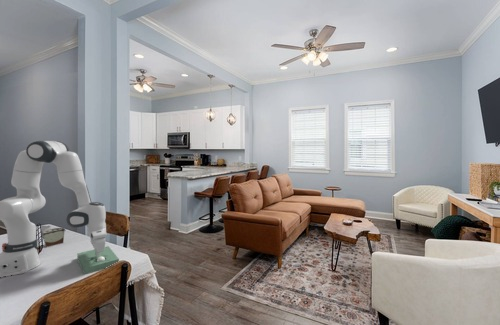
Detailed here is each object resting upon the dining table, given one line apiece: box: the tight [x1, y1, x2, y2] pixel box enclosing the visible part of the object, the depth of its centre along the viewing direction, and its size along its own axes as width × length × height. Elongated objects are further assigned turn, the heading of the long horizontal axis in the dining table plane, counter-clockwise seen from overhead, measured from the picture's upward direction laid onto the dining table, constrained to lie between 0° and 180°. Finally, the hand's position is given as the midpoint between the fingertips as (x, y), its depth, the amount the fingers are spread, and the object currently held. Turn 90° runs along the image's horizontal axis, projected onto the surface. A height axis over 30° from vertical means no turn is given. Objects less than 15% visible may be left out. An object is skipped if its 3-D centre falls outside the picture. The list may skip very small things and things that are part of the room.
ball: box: [97, 256, 105, 262], centre depth 131 cm, size 4×4×4 cm
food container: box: [42, 227, 66, 248], centre depth 159 cm, size 12×6×10 cm, turn 144°
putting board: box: [76, 246, 120, 275], centre depth 135 cm, size 16×24×3 cm, turn 43°
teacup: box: [40, 225, 52, 240], centre depth 170 cm, size 15×12×8 cm
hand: (97, 255), depth 134 cm, fingers closed
